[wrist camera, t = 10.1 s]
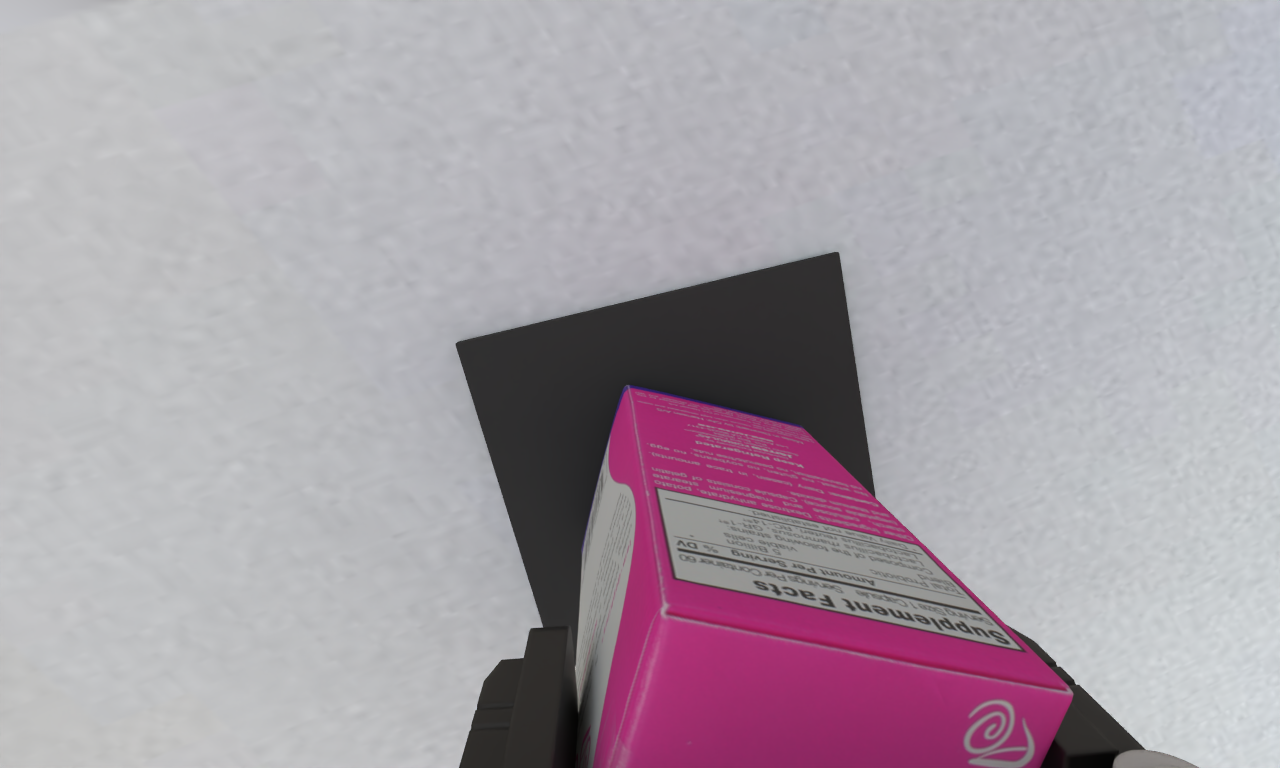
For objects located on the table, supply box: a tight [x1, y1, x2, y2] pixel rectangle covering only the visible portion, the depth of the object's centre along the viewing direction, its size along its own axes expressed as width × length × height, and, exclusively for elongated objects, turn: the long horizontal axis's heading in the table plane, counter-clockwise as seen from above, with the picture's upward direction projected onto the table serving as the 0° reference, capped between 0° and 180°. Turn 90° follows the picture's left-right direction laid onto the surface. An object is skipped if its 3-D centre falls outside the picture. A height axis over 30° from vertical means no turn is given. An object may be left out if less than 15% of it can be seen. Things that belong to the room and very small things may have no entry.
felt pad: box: [456, 252, 876, 666], centre depth 20 cm, size 12×12×1 cm
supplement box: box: [575, 385, 1073, 768], centre depth 13 cm, size 6×6×12 cm
